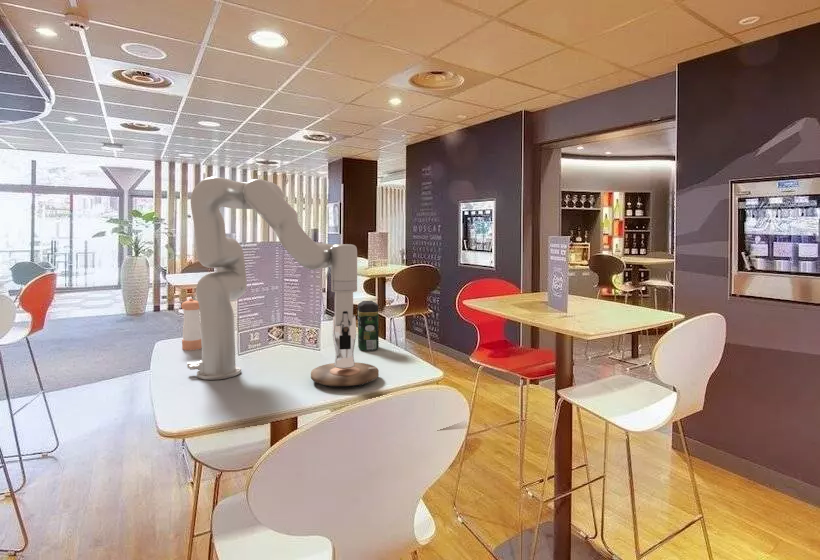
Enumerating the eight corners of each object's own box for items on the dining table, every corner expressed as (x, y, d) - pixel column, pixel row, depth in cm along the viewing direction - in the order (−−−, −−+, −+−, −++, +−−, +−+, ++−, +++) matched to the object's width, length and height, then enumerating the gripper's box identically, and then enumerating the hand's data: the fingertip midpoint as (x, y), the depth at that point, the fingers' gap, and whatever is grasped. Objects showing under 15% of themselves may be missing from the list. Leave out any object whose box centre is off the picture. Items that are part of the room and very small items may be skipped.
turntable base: (321, 389, 127) (321, 384, 127) (321, 374, 140) (321, 370, 140) (371, 386, 129) (371, 381, 129) (366, 372, 143) (366, 367, 143)
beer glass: (351, 370, 130) (351, 318, 129) (329, 368, 132) (328, 317, 130) (359, 363, 137) (359, 314, 136) (337, 362, 139) (337, 313, 137)
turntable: (310, 387, 123) (310, 381, 123) (311, 367, 143) (311, 361, 142) (382, 383, 127) (382, 377, 127) (374, 364, 147) (374, 359, 146)
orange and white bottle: (207, 347, 174) (205, 298, 172) (189, 351, 168) (187, 300, 166) (196, 345, 178) (194, 296, 176) (178, 348, 172) (176, 298, 170)
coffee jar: (357, 346, 178) (356, 299, 177) (377, 345, 180) (377, 299, 178) (358, 352, 169) (358, 303, 167) (379, 351, 170) (379, 302, 169)
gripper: (330, 283, 140) (330, 340, 142) (332, 289, 123) (332, 353, 125) (354, 283, 142) (354, 339, 143) (359, 289, 125) (359, 352, 126)
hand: (344, 345), depth 134 cm, fingers closed on beer glass, 6 cm apart
